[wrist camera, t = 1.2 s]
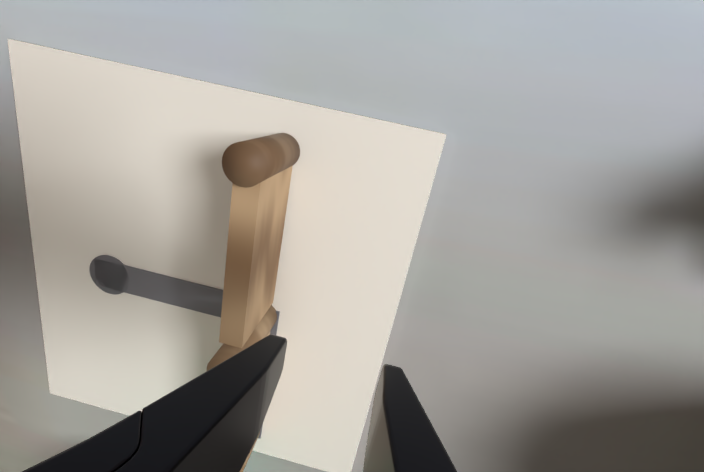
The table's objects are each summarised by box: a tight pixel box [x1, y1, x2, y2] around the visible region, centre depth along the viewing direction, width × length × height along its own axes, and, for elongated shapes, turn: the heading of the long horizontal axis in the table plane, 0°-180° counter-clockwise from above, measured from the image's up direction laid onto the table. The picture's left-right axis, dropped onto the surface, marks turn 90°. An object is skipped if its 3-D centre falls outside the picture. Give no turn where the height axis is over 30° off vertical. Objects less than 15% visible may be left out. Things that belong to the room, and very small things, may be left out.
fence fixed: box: [207, 305, 277, 472], centre depth 23 cm, size 12×2×6 cm, turn 169°
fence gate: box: [219, 133, 300, 348], centre depth 19 cm, size 10×2×5 cm, turn 169°
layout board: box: [8, 39, 446, 472], centre depth 24 cm, size 25×24×1 cm
